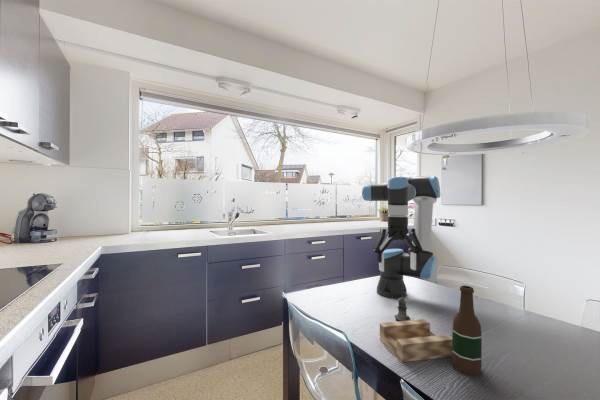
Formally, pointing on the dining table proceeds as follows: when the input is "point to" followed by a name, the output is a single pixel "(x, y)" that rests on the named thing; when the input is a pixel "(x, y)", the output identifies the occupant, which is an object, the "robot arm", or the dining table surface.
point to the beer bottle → (466, 336)
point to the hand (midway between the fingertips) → (397, 270)
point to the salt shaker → (402, 311)
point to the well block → (414, 340)
